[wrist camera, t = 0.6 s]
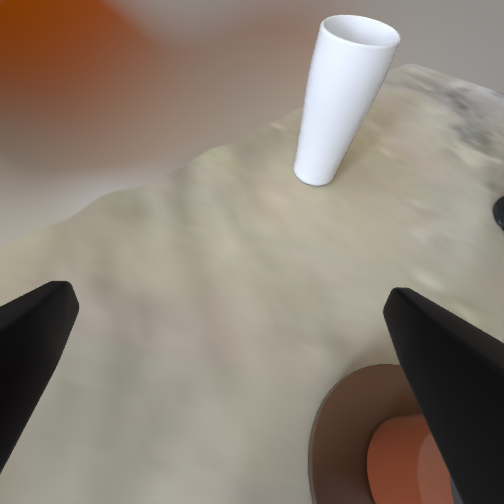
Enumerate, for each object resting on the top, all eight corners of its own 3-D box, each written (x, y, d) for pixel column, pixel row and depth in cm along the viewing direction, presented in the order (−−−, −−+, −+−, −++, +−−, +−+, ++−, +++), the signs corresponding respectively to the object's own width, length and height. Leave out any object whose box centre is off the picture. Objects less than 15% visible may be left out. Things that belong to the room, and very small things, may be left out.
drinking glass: (333, 157, 37) (388, 17, 24) (344, 193, 33) (414, 50, 20) (284, 155, 36) (314, 10, 24) (289, 191, 33) (327, 43, 20)
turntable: (573, 587, 16) (592, 597, 15) (362, 694, 13) (371, 712, 13) (436, 349, 23) (444, 346, 22) (282, 389, 21) (284, 387, 20)
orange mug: (472, 597, 15) (743, 785, 7) (348, 504, 16) (456, 573, 9) (488, 425, 19) (661, 424, 12) (390, 367, 21) (484, 332, 13)
